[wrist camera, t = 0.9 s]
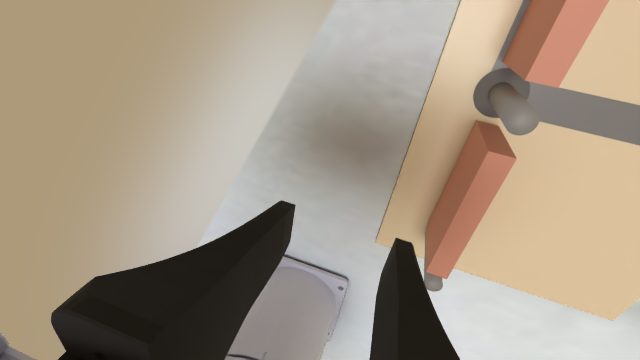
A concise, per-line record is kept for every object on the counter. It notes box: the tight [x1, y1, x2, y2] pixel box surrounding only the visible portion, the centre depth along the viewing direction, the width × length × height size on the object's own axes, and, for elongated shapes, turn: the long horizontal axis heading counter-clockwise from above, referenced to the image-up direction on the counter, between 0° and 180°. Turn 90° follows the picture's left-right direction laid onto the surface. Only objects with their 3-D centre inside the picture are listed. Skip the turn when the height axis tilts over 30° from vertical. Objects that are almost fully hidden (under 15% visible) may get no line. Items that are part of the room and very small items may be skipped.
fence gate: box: [424, 120, 517, 291], centre depth 17 cm, size 9×1×4 cm, turn 170°
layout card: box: [376, 0, 640, 321], centre depth 17 cm, size 19×16×1 cm
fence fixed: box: [488, 0, 609, 136], centre depth 12 cm, size 8×1×5 cm, turn 171°
